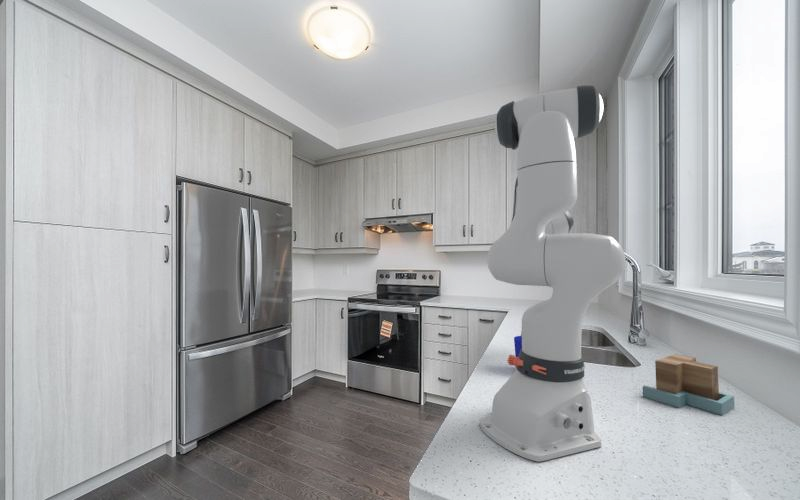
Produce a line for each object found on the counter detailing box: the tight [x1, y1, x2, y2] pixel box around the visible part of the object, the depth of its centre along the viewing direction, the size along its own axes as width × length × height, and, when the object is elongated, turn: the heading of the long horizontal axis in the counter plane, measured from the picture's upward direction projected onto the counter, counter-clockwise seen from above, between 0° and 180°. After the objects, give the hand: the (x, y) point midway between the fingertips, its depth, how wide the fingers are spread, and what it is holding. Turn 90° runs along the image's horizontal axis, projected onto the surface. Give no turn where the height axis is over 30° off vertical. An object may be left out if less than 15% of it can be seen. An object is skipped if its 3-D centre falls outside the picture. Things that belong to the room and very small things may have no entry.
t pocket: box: [642, 385, 735, 416], centre depth 74 cm, size 16×13×2 cm
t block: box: [654, 353, 720, 401], centre depth 74 cm, size 12×9×9 cm
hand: (578, 292), depth 94 cm, fingers closed
